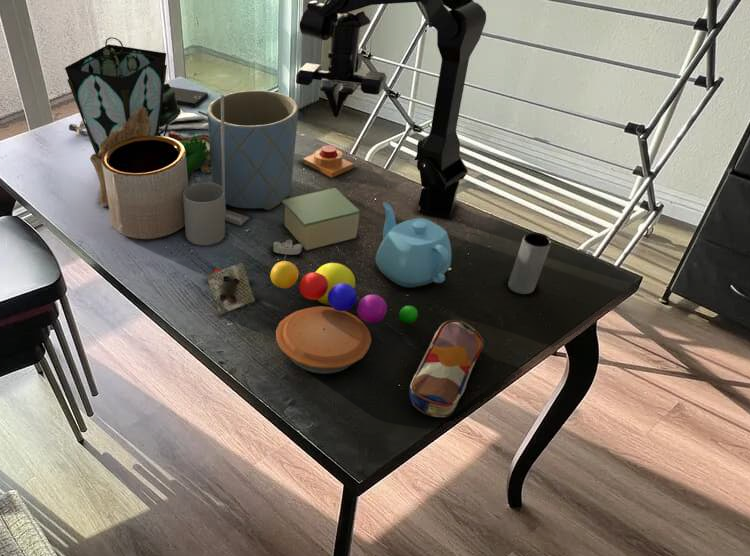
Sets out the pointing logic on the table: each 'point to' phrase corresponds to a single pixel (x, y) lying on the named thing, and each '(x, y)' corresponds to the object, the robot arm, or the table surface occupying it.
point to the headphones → (168, 108)
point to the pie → (323, 339)
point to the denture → (174, 135)
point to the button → (328, 151)
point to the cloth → (188, 122)
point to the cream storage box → (322, 230)
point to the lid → (320, 207)
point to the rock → (132, 128)
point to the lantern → (117, 88)
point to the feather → (180, 129)
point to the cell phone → (189, 96)
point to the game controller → (287, 248)
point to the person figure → (78, 128)
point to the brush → (228, 216)
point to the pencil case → (445, 369)
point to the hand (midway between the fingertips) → (336, 116)
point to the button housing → (328, 163)
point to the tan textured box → (230, 288)
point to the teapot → (413, 251)
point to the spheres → (336, 290)
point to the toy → (194, 156)
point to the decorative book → (205, 138)
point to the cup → (204, 213)
